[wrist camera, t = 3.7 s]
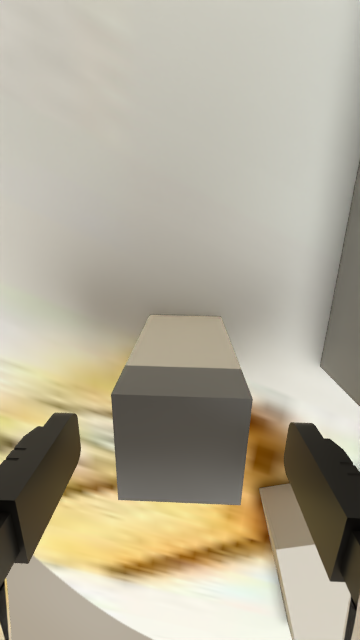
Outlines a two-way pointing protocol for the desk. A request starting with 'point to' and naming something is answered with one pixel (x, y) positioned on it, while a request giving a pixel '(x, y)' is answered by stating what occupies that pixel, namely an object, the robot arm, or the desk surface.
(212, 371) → the block
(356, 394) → the box
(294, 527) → the disc drive
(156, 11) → the desk surface
